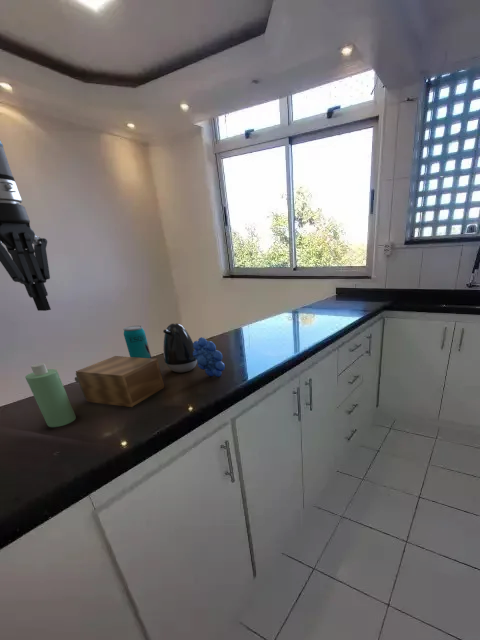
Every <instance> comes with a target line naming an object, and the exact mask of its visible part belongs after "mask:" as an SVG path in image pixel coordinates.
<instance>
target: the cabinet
mask: <svg viewBox="0 0 480 640" xmlns="http://www.w3.org/2000/svg"><path fill="white" fill-rule="evenodd" d="M151 358H152V357H151ZM151 358H137V357H130V356H123V355H122V356H120V355H114V356H111V357H109V358H106V359H104V360H100V361H98V362H96V363H93V364H91V365H89V366H86V367H82V368H81V369H78V370H75V375H76V374H77V376H78V379H79V382H80V384H81V387H82V389H83V392H84V394H83V396H84V395H85V397H84V398H85V400H86V402H87V403H94V404H95V403H96V404H101V405H103V404H104V405H109V406H110V405H111V406H118V407H125V408H127V407H128V408H133V407H134V406H136V405H138V404H140V403H141V402H142V401H145V400H146V399H148V398H150V397H151V396H152V395H155V394H156V393H158V392H159V391H161V390H163V389H164V388H165V383H164V379H163V376H162V372H161V368H160V364H159V360H158V358H152V359H151ZM77 376H76V377H77ZM79 382H78V383H79ZM80 384H79V385H80ZM81 387H80V388H81ZM82 389H81V390H82ZM83 392H82V393H83Z"/></svg>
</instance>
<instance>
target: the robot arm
mask: <svg viewBox="0 0 480 640" xmlns="http://www.w3.org/2000/svg"><path fill="white" fill-rule="evenodd" d="M22 203H23V199H22V196H21V193H20V190H19V188H18V185H17V182H16V180H15V177H14V175H13V173H12V170H11V167H10V163H9V161H8V158H7V154H6V151H5V149H4V145H3V143H2V141H1V140H0V264H1V265H2V266H3V268H4V269H5V271H6V272H7V274H8V275H9V277H10V279H12V281H13V282H15V283H19V284H21V285H23V286H24V287H25V290H26V292H27V295H28V297H29V298H31V299H33V303H34V305H35V307H36V310H37V311H38V312H41V311H42V312H46V311H51V310H52V308H51V306H50V303H49V300H48V298H47V297H48V295H49V293H48V291H47V288H46V285H45V283H47V280H50V279H51V273H50V268H49V261H48V260H49V259H48V254H47V245H48V240H47V239H46V238H45V237H40V236H39V235H36V233H35V231H34V229H32V227H31V224H30V223H31V221H30V218H29V215H28V212H27V210H26V207H25V206H24V205H23V204H22ZM3 245H4V246H3Z"/></svg>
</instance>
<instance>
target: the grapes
mask: <svg viewBox="0 0 480 640" xmlns="http://www.w3.org/2000/svg"><path fill="white" fill-rule="evenodd" d="M193 347H194V349H195V350H194V351H193V356H194V358H195V359H197V366H198V367H197V368H199V369H200V370H203V371H204V373H205V374H206V375H207V376H209V377H213V376H214V377H216V378H220V377H221V376H222V373H223V371H224V370H225V369H226V366H225V365H226V364H225V363H224V362H223V361H222V360H223V359H224V357H223V353H222V351H220V350H217V346H216V344H215V343H214V342H213V341H211V340H207V338H205V337H199V338H198V339H197V340H194V341H193Z"/></svg>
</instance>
